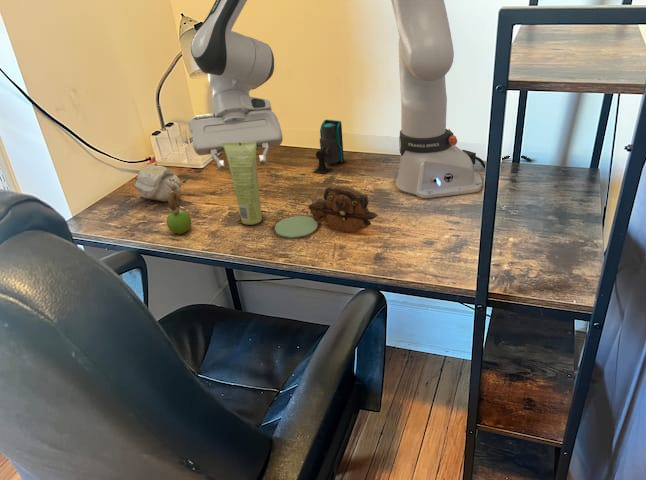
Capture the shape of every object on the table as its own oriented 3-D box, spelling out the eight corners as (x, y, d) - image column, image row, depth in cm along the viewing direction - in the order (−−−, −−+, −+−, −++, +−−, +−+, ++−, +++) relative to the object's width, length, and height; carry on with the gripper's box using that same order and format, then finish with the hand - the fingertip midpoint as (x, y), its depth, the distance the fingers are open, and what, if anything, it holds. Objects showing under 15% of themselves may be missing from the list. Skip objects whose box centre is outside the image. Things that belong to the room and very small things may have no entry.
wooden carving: (306, 228, 123) (302, 188, 117) (314, 219, 126) (311, 180, 121) (374, 240, 118) (374, 199, 112) (380, 230, 122) (380, 190, 116)
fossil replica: (177, 206, 137) (189, 192, 146) (173, 175, 133) (185, 163, 142) (130, 204, 137) (145, 191, 146) (125, 173, 133) (140, 161, 142)
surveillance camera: (306, 130, 145) (324, 119, 153) (310, 171, 152) (328, 159, 159) (324, 132, 143) (342, 121, 150) (328, 174, 150) (344, 161, 157)
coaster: (319, 216, 128) (319, 215, 128) (315, 237, 120) (315, 235, 120) (278, 218, 129) (277, 216, 129) (271, 238, 120) (271, 237, 120)
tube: (257, 213, 132) (244, 135, 121) (268, 220, 128) (256, 141, 118) (237, 220, 129) (222, 142, 118) (247, 228, 125) (233, 147, 115)
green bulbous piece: (195, 223, 128) (183, 176, 122) (192, 236, 123) (180, 188, 117) (172, 226, 128) (159, 179, 121) (168, 239, 123) (154, 191, 116)
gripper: (185, 109, 120) (193, 166, 117) (276, 99, 123) (286, 154, 121) (189, 123, 126) (198, 178, 123) (276, 113, 129) (286, 166, 127)
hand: (242, 166), depth 122 cm, fingers open, 8 cm apart
